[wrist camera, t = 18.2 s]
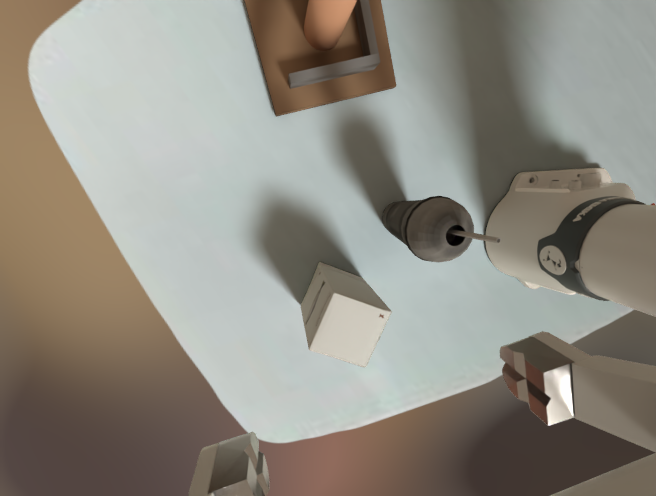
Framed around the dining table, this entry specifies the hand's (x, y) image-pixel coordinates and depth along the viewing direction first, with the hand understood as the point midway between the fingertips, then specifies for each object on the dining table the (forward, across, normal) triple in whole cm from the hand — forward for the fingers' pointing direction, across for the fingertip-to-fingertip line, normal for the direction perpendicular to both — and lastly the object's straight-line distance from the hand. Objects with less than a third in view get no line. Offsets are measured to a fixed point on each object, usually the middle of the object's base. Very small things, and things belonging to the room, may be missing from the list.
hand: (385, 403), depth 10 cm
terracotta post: (+34, -9, -23) cm, 42 cm away
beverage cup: (+35, -14, +2) cm, 38 cm away
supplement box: (+35, -2, +10) cm, 37 cm away
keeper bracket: (+35, -9, -23) cm, 43 cm away
